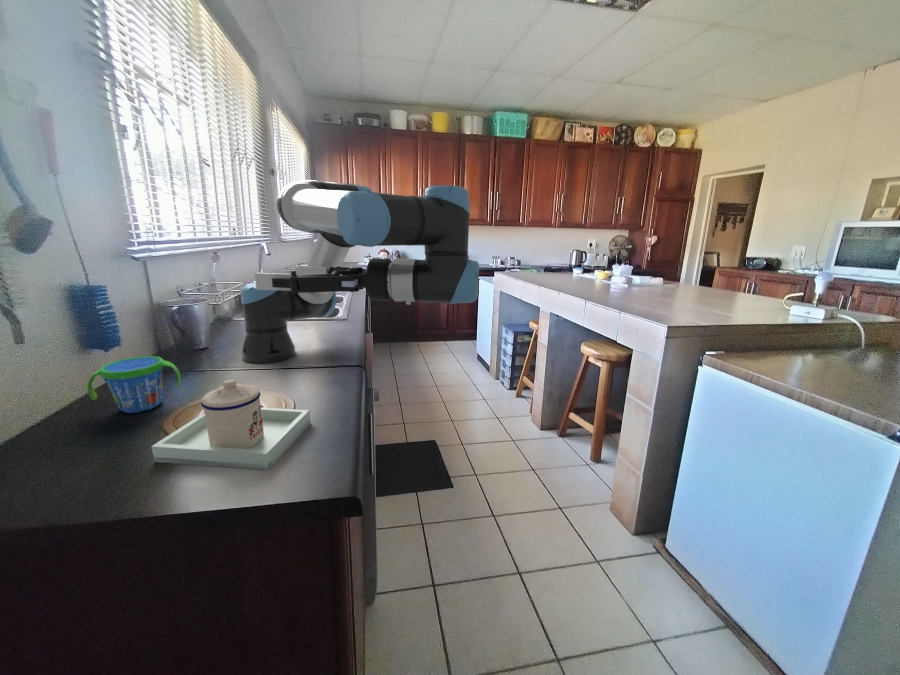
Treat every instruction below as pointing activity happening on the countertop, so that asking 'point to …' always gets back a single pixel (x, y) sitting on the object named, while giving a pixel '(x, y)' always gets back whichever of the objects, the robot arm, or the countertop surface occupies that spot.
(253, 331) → the robot arm
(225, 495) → the countertop surface
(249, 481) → the countertop surface
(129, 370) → the snack cup
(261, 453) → the sage tray
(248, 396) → the teacup with lid
